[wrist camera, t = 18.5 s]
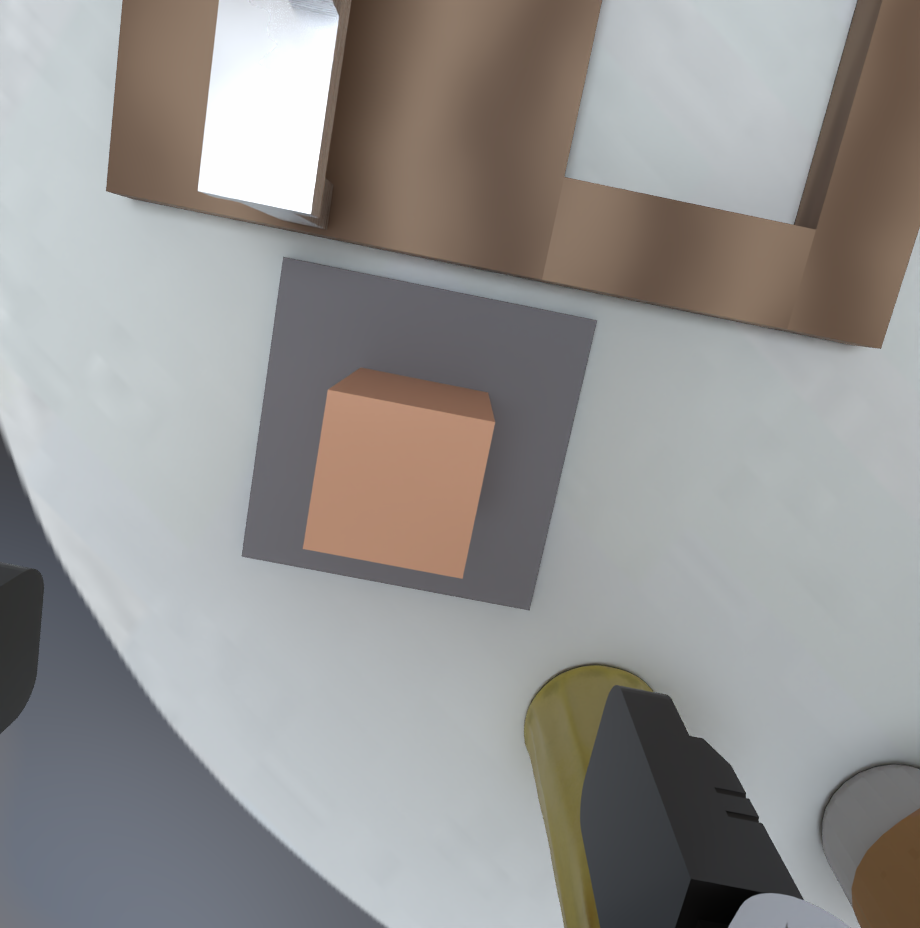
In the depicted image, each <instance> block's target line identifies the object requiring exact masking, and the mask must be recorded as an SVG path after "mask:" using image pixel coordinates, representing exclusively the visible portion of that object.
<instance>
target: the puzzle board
mask: <svg viewBox="0 0 920 928" xmlns="http://www.w3.org/2000/svg"><path fill="white" fill-rule="evenodd" d="M601 3H602V0H351V7H350V14H349V21H348V27H347V34H346V41H345V48H344V54H343V61H342V68H341V75H340V81H339V88H338V95H337V102H336V108H335V115H334V122H333V129H332V136H331V142H330V149H329V156H328V163H327V169H326V176H325V178H326V179H327V180H328V181H329V182H331V183H332V184H333V191H332V198H331V204H330V211H329V218H328V224H327V230H326V229H321V228H316V227H311V226H306V225H302V224H297V223H292V222H287V221H283V220H281V219H278V218H276V217H273V216H271V215H269V214H266V213H264V212H261V211H259V210H257V209H254V208H252V207H250V206H247V205H245V204H242V203H240V202H236V201H231V200H226V199H221V198H216V197H212V196H209V195H207V194H204V193H202V192H199V191H198V183H199V174H200V165H201V156H202V148H203V139H204V130H205V121H206V112H207V103H208V94H209V85H210V76H211V67H212V59H213V50H214V41H215V32H216V23H217V14H218V5H219V0H123V2H122V14H121V25H120V37H119V48H118V60H117V71H116V83H115V94H114V106H113V117H112V129H111V140H110V152H109V164H108V175H107V187H106V191H108V192H111V193H114V194H118V195H121V196H125V197H128V198H131V199H136V200H141V201H146V202H151V203H156V204H161V205H166V206H171V207H176V208H180V209H185V210H190V211H195V212H200V213H205V214H210V215H215V216H220V217H225V218H230V219H235V220H239V221H244V222H249V223H254V224H259V225H264V226H269V227H274V228H279V229H284V230H289V231H294V232H299V233H303V234H308V235H313V236H318V237H323V238H328V239H333V240H338V241H343V242H348V243H353V244H358V245H362V246H367V247H372V248H377V249H382V250H387V251H392V252H397V253H402V254H407V255H412V256H417V257H422V258H426V259H431V260H436V261H441V262H446V263H451V264H456V265H461V266H466V267H471V268H476V269H481V270H485V271H490V272H495V273H500V274H505V275H510V276H515V277H520V278H525V279H530V280H535V281H540V282H545V283H549V284H554V285H559V286H564V287H569V288H574V289H579V290H584V291H589V292H594V293H599V294H604V295H609V296H613V297H618V298H623V299H628V300H633V301H638V302H643V303H648V304H653V305H658V306H663V307H668V308H672V309H677V310H682V311H687V312H692V313H697V314H702V315H707V316H712V317H717V318H722V319H727V320H732V321H736V322H741V323H746V324H751V325H756V326H761V327H766V328H771V329H776V330H781V331H786V332H791V333H795V334H800V335H805V336H810V337H815V338H820V339H825V340H830V341H835V342H840V343H845V344H850V345H856V346H864V347H872V348H880V349H881V347H882V344H883V340H884V337H885V334H886V331H887V328H888V325H889V322H890V318H891V315H892V312H893V309H894V306H895V303H896V300H897V297H898V293H899V290H900V287H901V284H902V281H903V278H904V275H905V271H906V268H907V265H908V262H909V259H910V256H911V253H912V249H913V246H914V243H915V240H916V237H917V234H918V231H919V228H920V0H858V1H857V5H856V8H855V12H854V16H853V19H852V23H851V26H850V30H849V33H848V37H847V40H846V44H845V47H844V51H843V54H842V58H841V61H840V65H839V69H838V72H837V76H836V79H835V83H834V86H833V90H832V93H831V97H830V100H829V104H828V107H827V111H826V114H825V118H824V122H823V125H822V129H821V132H820V136H819V139H818V143H817V146H816V150H815V153H814V157H813V160H812V164H811V167H810V171H809V175H808V178H807V182H806V185H805V189H804V192H803V196H802V199H801V203H800V206H799V210H798V213H797V217H796V220H795V224H794V225H792V224H787V223H782V222H777V221H772V220H768V219H763V218H758V217H753V216H748V215H744V214H739V213H734V212H729V211H724V210H720V209H715V208H710V207H705V206H701V205H696V204H691V203H686V202H681V201H677V200H672V199H667V198H662V197H657V196H653V195H648V194H643V193H638V192H633V191H629V190H624V189H619V188H614V187H609V186H605V185H600V184H595V183H590V182H585V181H581V180H576V179H571V178H566V177H564V176H565V171H566V166H567V162H568V157H569V152H570V148H571V143H572V138H573V134H574V129H575V124H576V120H577V115H578V111H579V106H580V101H581V97H582V92H583V87H584V83H585V78H586V73H587V69H588V64H589V59H590V55H591V50H592V45H593V41H594V36H595V31H596V27H597V22H598V17H599V13H600V8H601Z"/></svg>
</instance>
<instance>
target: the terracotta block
mask: <svg viewBox="0 0 920 928" xmlns="http://www.w3.org/2000/svg"><path fill="white" fill-rule="evenodd" d="M494 426H495V419H494V415H493V411H492V407H491V402H490V398H489V394H488V392H483V391H478V390H473V389H468V388H463V387H458V386H452V385H447V384H442V383H437V382H432V381H427V380H422V379H417V378H412V377H407V376H402V375H397V374H391V373H386V372H381V371H376V370H371V369H366V368H359V369H358V370H356V371H355V372H353V373H352V374H350V375H349V376H347V377H346V378H344V379H343V380H341V381H340V382H338V383H337V384H335V385H334V386H332V387H331V388H330V389H328V392H327V398H326V405H325V411H324V417H323V424H322V430H321V436H320V443H319V449H318V456H317V462H316V468H315V475H314V481H313V487H312V494H311V500H310V506H309V513H308V519H307V525H306V532H305V538H304V545H303V549H306V550H312V551H317V552H322V553H328V554H333V555H338V556H344V557H349V558H354V559H360V560H365V561H370V562H376V563H381V564H386V565H392V566H397V567H402V568H408V569H413V570H418V571H424V572H429V573H434V574H440V575H445V576H450V577H456V578H461V579H463V574H464V569H465V564H466V559H467V555H468V550H469V545H470V540H471V536H472V531H473V526H474V521H475V516H476V512H477V507H478V502H479V497H480V493H481V488H482V483H483V478H484V473H485V469H486V464H487V459H488V454H489V450H490V445H491V440H492V435H493V430H494Z"/></svg>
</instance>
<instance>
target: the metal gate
mask: <svg viewBox="0 0 920 928" xmlns="http://www.w3.org/2000/svg"><path fill="white" fill-rule="evenodd" d="M350 7H351V0H219V5H218V14H217V23H216V32H215V41H214V50H213V59H212V67H211V76H210V85H209V94H208V103H207V112H206V121H205V130H204V139H203V148H202V156H201V165H200V174H199V183H198V191H199V192H202V193H204V194H207V195H209V196H212V197H216V198H221V199H226V200H231V201H236V202H240V203H242V204H245V205H247V206H250V207H252V208H254V209H257V210H259V211H261V212H264V213H266V214H269V215H271V216H273V217H276V218H278V219H281V220H283V221H287V222H292V223H297V224H302V225H306V226H311V227H316V228H321V229H326V230H327V224H328V218H329V211H330V204H331V198H332V191H333V184H332V183H331V182H329V181H328V180H327V179H326V178H325V176H326V169H327V163H328V156H329V149H330V142H331V136H332V129H333V122H334V115H335V108H336V102H337V95H338V88H339V81H340V75H341V68H342V61H343V54H344V48H345V41H346V34H347V27H348V21H349V14H350Z"/></svg>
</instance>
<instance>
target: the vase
mask: <svg viewBox="0 0 920 928" xmlns="http://www.w3.org/2000/svg"><path fill="white" fill-rule="evenodd" d="M615 685H619V686H624V687H629V688H635V689H640V690H645V691H650V692H653V691H652V690H651V688H650V687H649V686H648V685H647V684H646V683H645V682H644V681H643V680H641V679H640V678H639V677H637V676H635V675H633V674H631V673H629V672H627V671H624V670H621V669H617V668H612V667H606V666H600V665H590V666H582V667H578V668H574V669H571V670H569V671H566V672H564V673H561V674H560V675H558V676H556V677H555V678H553V679H552V680H551V681H549V682H548V683H547V684H546V685H545V686H544V687H543V688H542V689H541V690H540V691H539V692H538V694H537V695H536V696H535V698H534V699H533V701H532V702H531V704H530V706H529V709H528V711H527V715H526V719H525V725H524V737H525V744H526V748H527V750H528V753H529V756H530V759H531V763H532V767H533V772H534V777H535V782H536V787H537V792H538V798H539V803H540V807H541V811H542V815H543V819H544V824H545V828H546V833H547V837H548V842H549V847H550V853H551V859H552V865H553V871H554V876H555V882H556V887H557V892H558V897H559V902H560V907H561V912H562V917H563V923H564V928H600V924H599V919H598V914H597V909H596V904H595V899H594V894H593V888H592V883H591V878H590V873H589V868H588V863H587V858H586V853H585V848H584V843H583V838H582V833H581V826H580V804H581V795H582V788H583V783H584V779H585V775H586V772H587V768H588V765H589V761H590V757H591V754H592V750H593V746H594V743H595V739H596V736H597V732H598V728H599V725H600V721H601V718H602V714H603V710H604V707H605V703H606V700H607V697H608V695H609V692H610V690H611V689H612V687H613V686H615Z"/></svg>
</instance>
